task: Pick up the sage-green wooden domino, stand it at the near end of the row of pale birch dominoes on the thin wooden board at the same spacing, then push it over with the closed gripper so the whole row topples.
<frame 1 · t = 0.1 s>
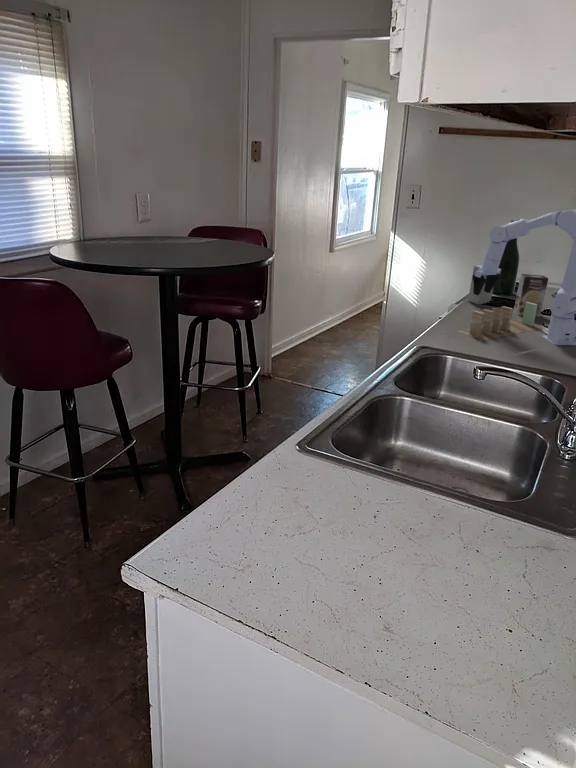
hand: (481, 293, 226), 11 cm above the counter, tool pointing down, fingers open, 7 cm apart
birch domino 4: (484, 332, 212), point 1 cm above the counter, touching thin wooden board
coffee box: (526, 316, 241), on the counter
skincare box: (479, 302, 259), on the counter
birch domino 2: (503, 328, 218), point 1 cm above the counter, touching thin wooden board
birch domino 3: (494, 330, 215), point 1 cm above the counter, touching thin wooden board
birch domino 5: (475, 334, 210), point 1 cm above the counter, touching thin wooden board
thin wooden board: (502, 330, 218), on the counter
beer bottle: (501, 293, 279), on the counter
green domino: (527, 324, 226), point 1 cm above the counter, touching thin wooden board
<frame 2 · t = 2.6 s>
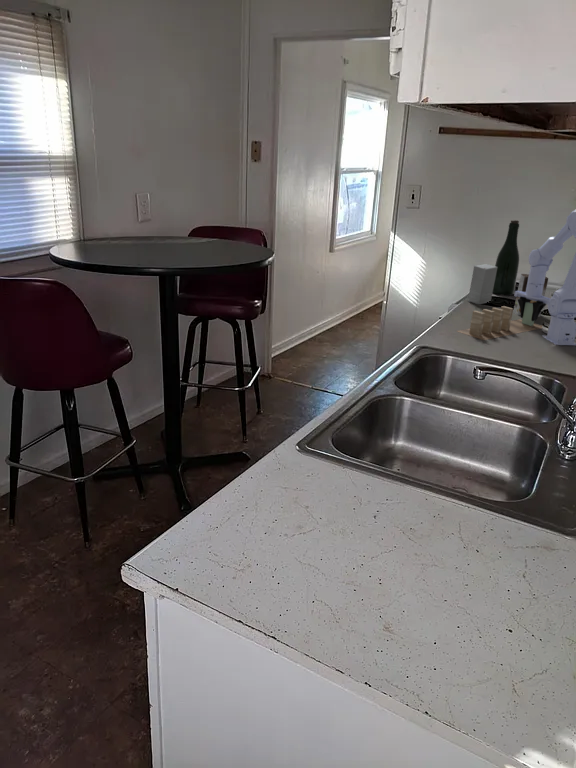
hand: (528, 319, 225), 3 cm above the counter, tool pointing down, fingers closed on green domino, 4 cm apart
green domino: (527, 324, 226), point 1 cm above the counter, touching gripper, thin wooden board
everything else where it was.
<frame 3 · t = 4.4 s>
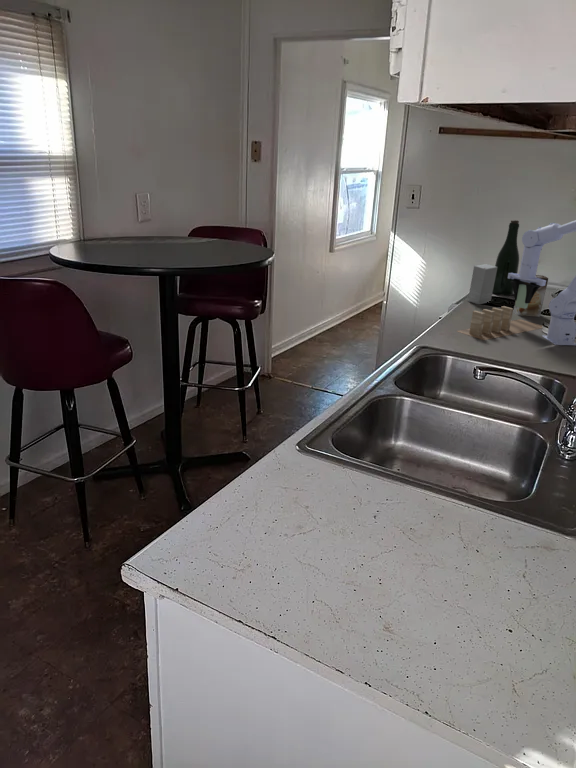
hand: (522, 301, 219), 10 cm above the counter, tool pointing down, fingers closed on green domino, 4 cm apart
green domino: (521, 307, 220), point 8 cm above the counter, touching gripper
everything else where it was.
when the fingers open (4 cm above the counter, at t = 6.6 s): green domino stays where it is, resting on thin wooden board.
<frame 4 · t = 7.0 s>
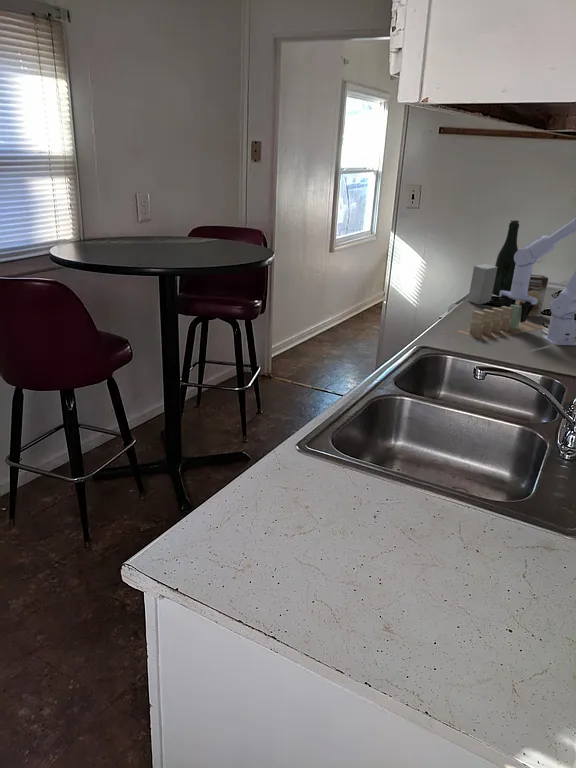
hand: (513, 319, 220), 4 cm above the counter, tool pointing down, fingers open, 7 cm apart
green domino: (512, 327, 221), point 1 cm above the counter, touching thin wooden board
everything else where it was.
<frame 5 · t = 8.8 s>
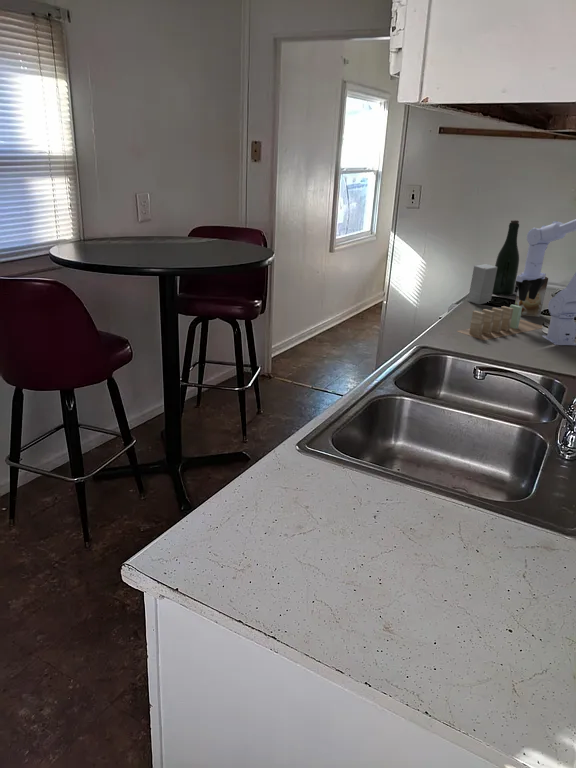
hand: (526, 299, 220), 10 cm above the counter, tool pointing down, fingers open, 5 cm apart
nothing on the counter moved.
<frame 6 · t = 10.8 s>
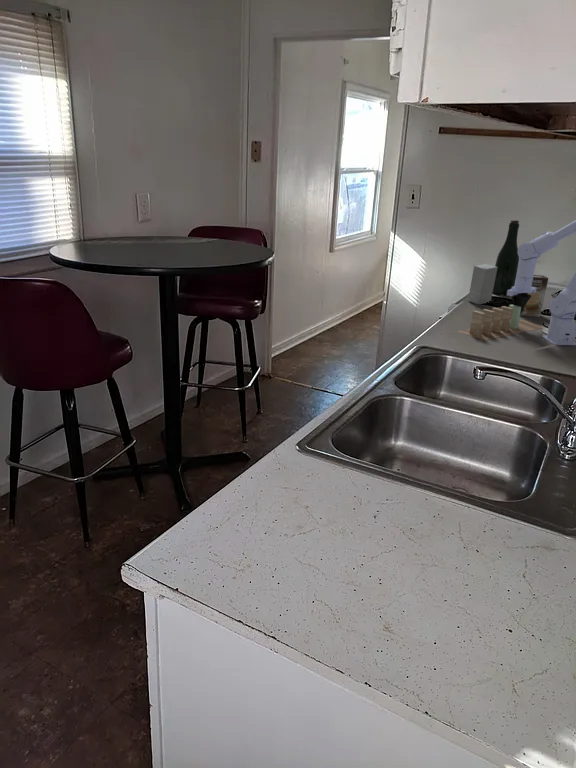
hand: (517, 313, 220), 6 cm above the counter, tool pointing down, fingers closed
green domino: (512, 327, 221), point 1 cm above the counter, tilted 5°, touching thin wooden board
everything else where it was.
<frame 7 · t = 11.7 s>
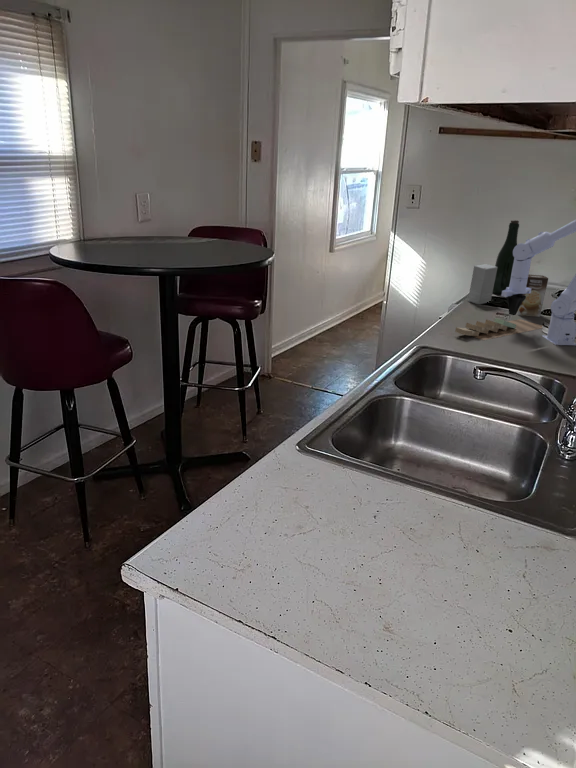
hand: (512, 314, 218), 6 cm above the counter, tool pointing down, fingers closed
birch domino 4: (483, 330, 212), point 1 cm above the counter, tilted 72°
birch domino 2: (502, 327, 217), point 1 cm above the counter, tilted 72°, touching birch domino 3, green domino, thin wooden board
birch domino 3: (493, 328, 214), point 1 cm above the counter, tilted 71°, touching birch domino 2, thin wooden board
birch domino 5: (474, 332, 209), point 1 cm above the counter, tilted 79°, touching thin wooden board
green domino: (511, 325, 220), point 1 cm above the counter, tilted 72°, touching birch domino 2, thin wooden board
everything else where it was.
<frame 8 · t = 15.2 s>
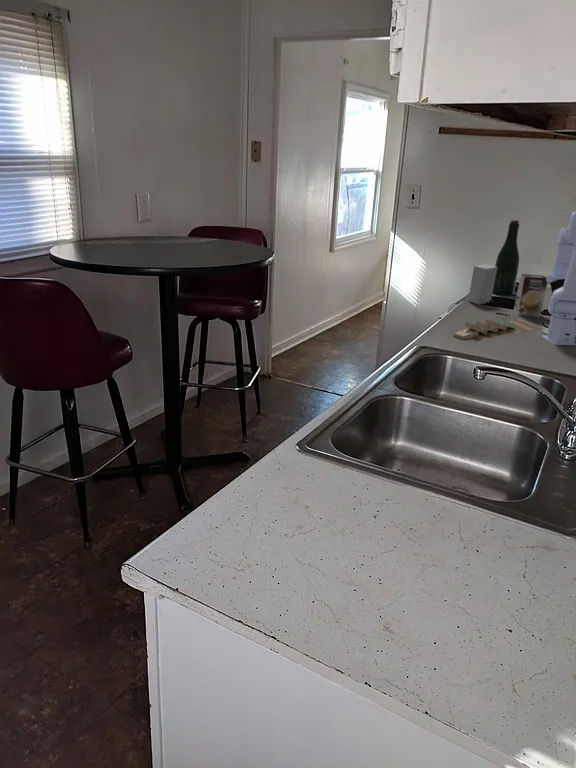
hand: (555, 299, 222), 10 cm above the counter, tool pointing down, fingers closed
birch domino 4: (482, 331, 211), point 1 cm above the counter, tilted 68°, touching birch domino 3, birch domino 5, thin wooden board
birch domino 3: (493, 328, 214), point 1 cm above the counter, tilted 73°, touching birch domino 2, birch domino 4, thin wooden board
birch domino 5: (473, 332, 209), point 2 cm above the counter, tilted 95°, touching birch domino 4, thin wooden board
everything else where it was.
at the end: birch domino 5 tilted 95°; green domino tilted 72°; green domino 0.8 cm from the target spot, point 1.4 cm above the counter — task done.
